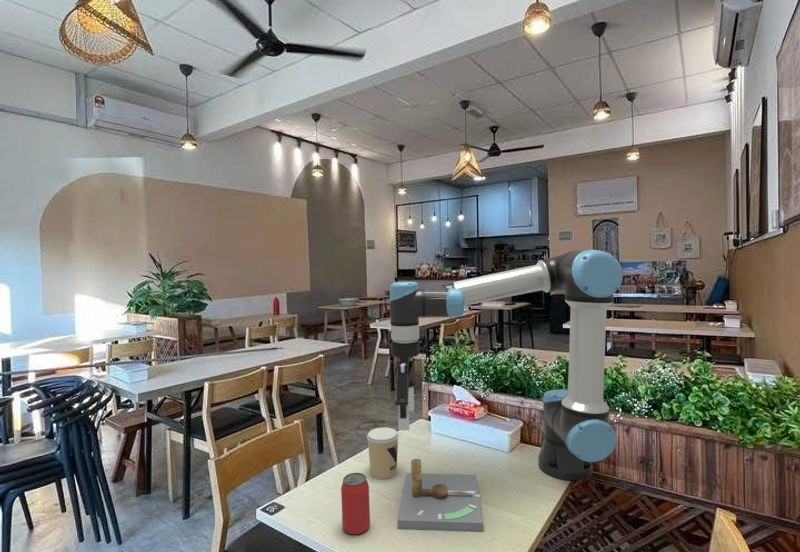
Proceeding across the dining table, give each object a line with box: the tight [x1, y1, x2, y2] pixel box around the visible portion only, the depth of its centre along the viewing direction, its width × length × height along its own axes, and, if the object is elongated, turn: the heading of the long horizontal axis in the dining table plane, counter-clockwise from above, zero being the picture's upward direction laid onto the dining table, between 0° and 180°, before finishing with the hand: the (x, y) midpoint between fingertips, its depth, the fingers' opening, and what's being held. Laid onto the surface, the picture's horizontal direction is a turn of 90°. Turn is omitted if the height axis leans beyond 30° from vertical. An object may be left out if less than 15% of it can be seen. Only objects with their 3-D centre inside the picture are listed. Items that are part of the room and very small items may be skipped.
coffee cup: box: [366, 427, 399, 480], centre depth 127 cm, size 9×9×12 cm
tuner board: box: [397, 472, 484, 532], centre depth 110 cm, size 20×22×2 cm
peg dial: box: [410, 458, 475, 498], centre depth 110 cm, size 16×4×9 cm, turn 84°
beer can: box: [340, 472, 371, 535], centre depth 101 cm, size 7×7×12 cm
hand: (406, 419), depth 113 cm, fingers open, 13 cm apart
